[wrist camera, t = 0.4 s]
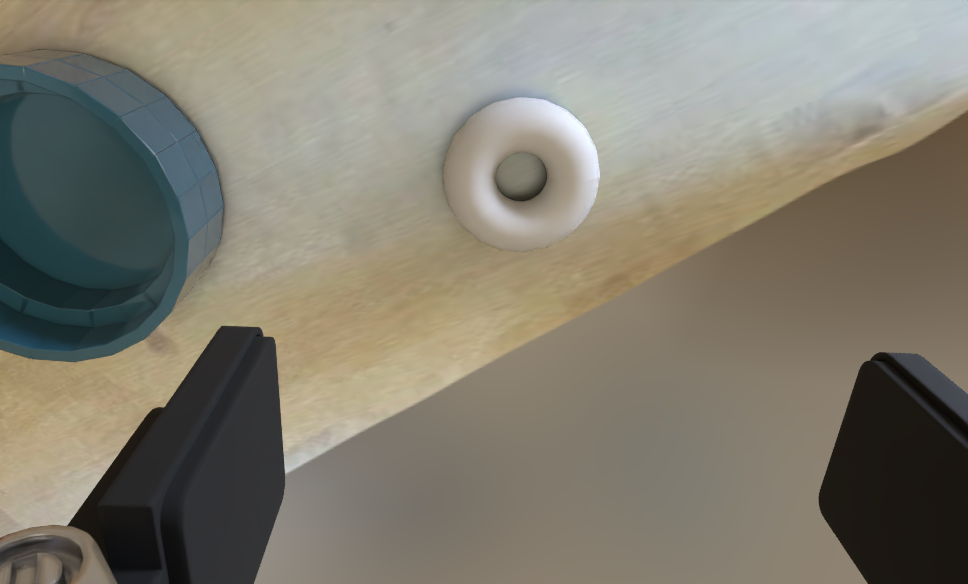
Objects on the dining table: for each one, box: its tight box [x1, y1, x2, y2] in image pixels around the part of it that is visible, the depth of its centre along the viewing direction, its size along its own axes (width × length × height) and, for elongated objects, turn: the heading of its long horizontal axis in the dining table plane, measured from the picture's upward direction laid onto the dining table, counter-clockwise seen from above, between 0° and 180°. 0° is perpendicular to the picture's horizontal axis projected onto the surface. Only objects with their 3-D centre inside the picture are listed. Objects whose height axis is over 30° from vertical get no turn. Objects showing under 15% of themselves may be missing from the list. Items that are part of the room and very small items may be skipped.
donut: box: [443, 97, 600, 252], centre depth 44 cm, size 10×4×10 cm
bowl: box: [0, 49, 224, 362], centre depth 42 cm, size 18×18×7 cm
